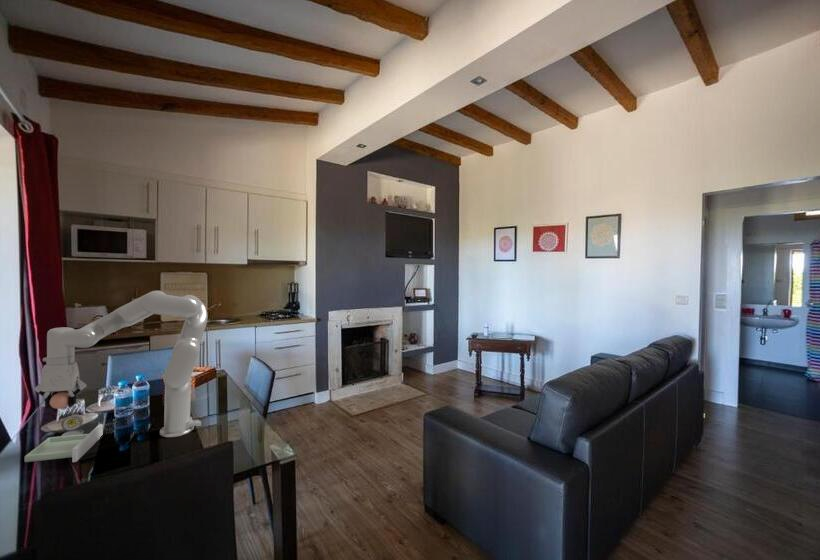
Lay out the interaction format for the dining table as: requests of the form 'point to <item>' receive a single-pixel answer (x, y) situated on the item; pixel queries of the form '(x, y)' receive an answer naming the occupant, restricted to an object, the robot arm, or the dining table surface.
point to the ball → (59, 400)
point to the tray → (55, 448)
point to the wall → (87, 443)
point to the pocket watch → (74, 423)
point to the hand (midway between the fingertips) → (60, 406)
